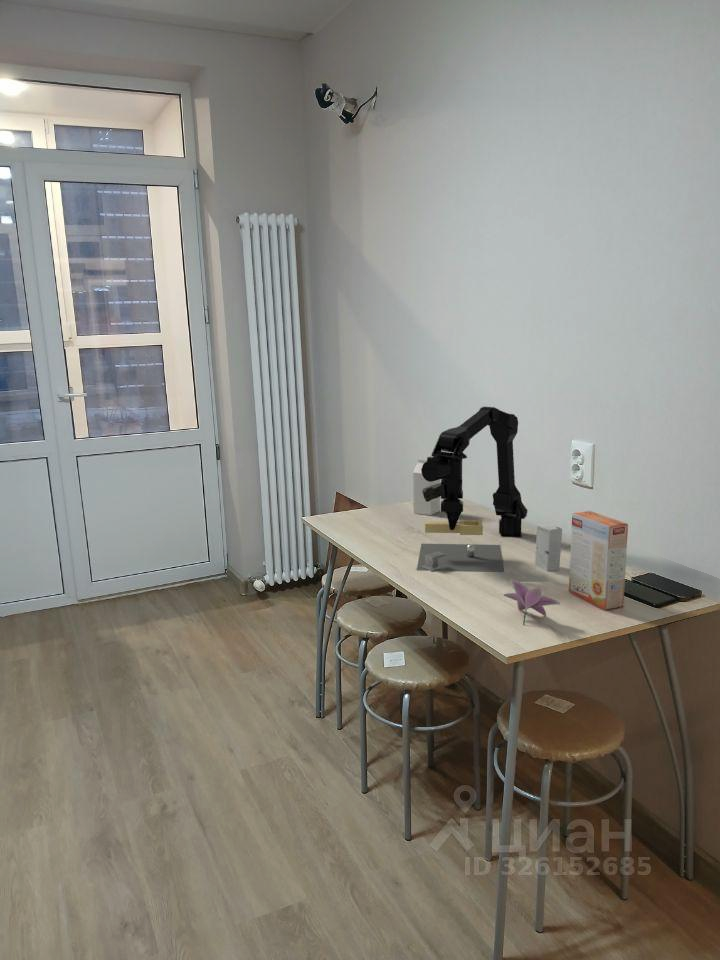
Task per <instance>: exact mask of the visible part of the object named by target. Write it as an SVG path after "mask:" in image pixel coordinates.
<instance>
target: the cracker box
mask: <svg viewBox="0 0 720 960" xmlns="http://www.w3.org/2000/svg"><path fill="white" fill-rule="evenodd" d="M628 531H629V524H628V523H626V522H623V521H620V520H617V519H616V518H611V517H609V516H606V515H603V514H600V513H596V512H594V511H590V510H587V511H578V512H573V513H572V514H571V533H570V537H571V539H570V554H569V555H570V558H569V559H570V561H569V579H568V580H569V581H568V592H569V593H571V594H573V595H575V596H577V597H579V598H580V599H582V600H584V601H586V602H588V603H590V604H592V605H594V606H596V607H598V608H599V609H601V610H604V611H607V610H612V608H613V609H618V608H617V607H619V608H622V607H621V606H623V607H624V599H625V586H626V585H625V583H626V582H625V581H626V568H627V566H626V565H627V551H628V550H627V548H628V533H629V532H628Z"/></svg>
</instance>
